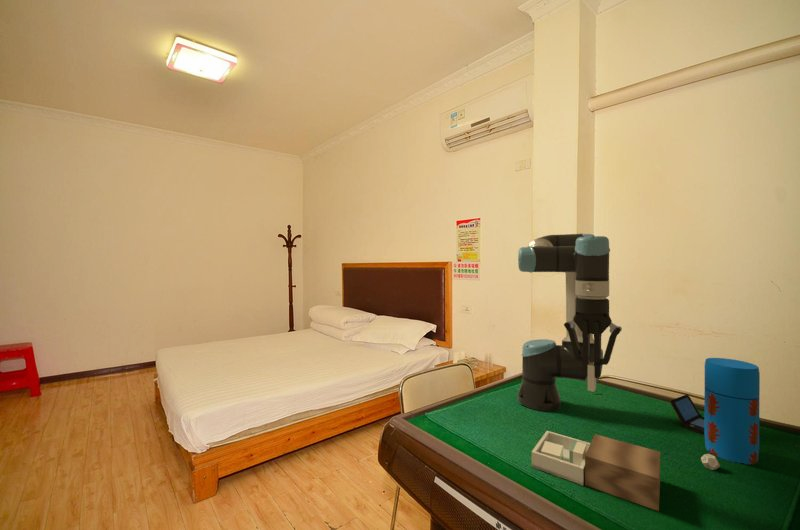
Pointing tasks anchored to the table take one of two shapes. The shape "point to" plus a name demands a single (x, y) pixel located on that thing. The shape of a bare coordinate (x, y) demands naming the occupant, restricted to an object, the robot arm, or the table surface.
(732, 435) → the thermos
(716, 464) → the game die
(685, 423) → the handheld game console
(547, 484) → the table surface
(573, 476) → the bin
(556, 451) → the tile
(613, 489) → the walnut block
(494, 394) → the table surface
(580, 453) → the tile
